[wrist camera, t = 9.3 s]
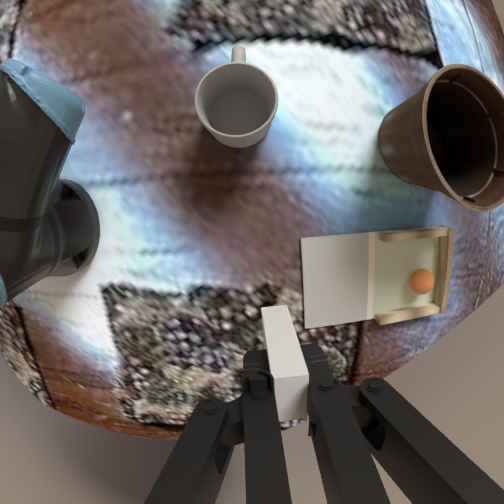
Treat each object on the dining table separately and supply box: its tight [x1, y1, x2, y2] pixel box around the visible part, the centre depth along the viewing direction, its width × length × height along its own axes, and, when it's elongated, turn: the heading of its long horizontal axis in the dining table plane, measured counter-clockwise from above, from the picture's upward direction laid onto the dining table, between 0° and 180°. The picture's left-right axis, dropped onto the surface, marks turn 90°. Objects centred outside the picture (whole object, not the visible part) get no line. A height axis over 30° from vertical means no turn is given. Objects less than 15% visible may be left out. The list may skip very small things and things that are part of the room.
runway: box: [300, 228, 439, 329], centre depth 43 cm, size 24×14×1 cm, turn 96°
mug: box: [194, 46, 278, 148], centre depth 32 cm, size 12×8×11 cm
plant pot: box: [379, 64, 504, 211], centre depth 30 cm, size 16×16×16 cm
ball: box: [410, 269, 434, 295], centre depth 41 cm, size 4×4×4 cm
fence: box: [375, 225, 454, 325], centre depth 41 cm, size 12×14×4 cm
